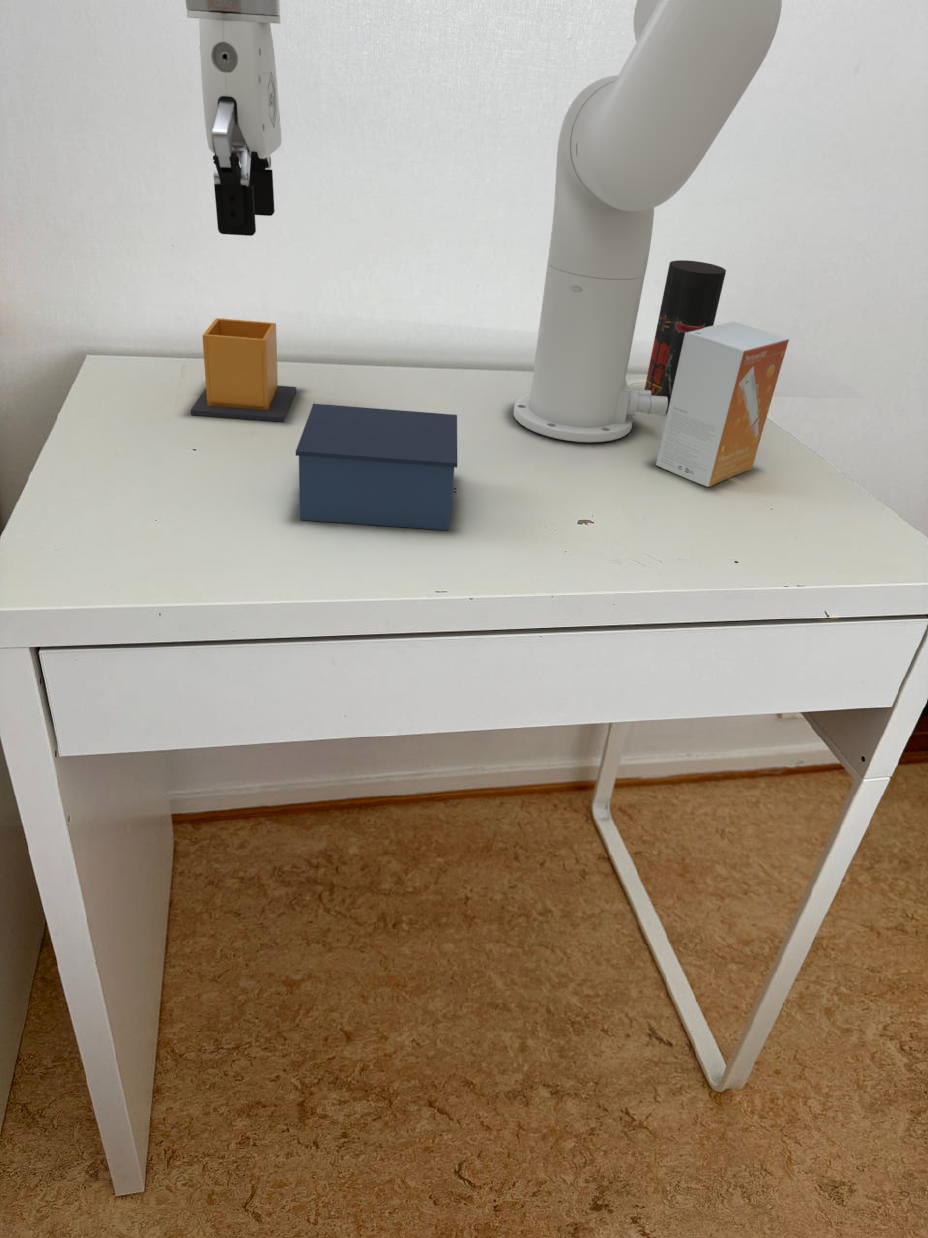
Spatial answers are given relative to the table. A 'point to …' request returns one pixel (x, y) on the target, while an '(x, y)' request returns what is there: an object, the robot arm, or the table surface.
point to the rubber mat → (273, 414)
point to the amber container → (240, 364)
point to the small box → (720, 401)
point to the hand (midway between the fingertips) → (247, 223)
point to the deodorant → (682, 318)
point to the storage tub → (377, 467)
